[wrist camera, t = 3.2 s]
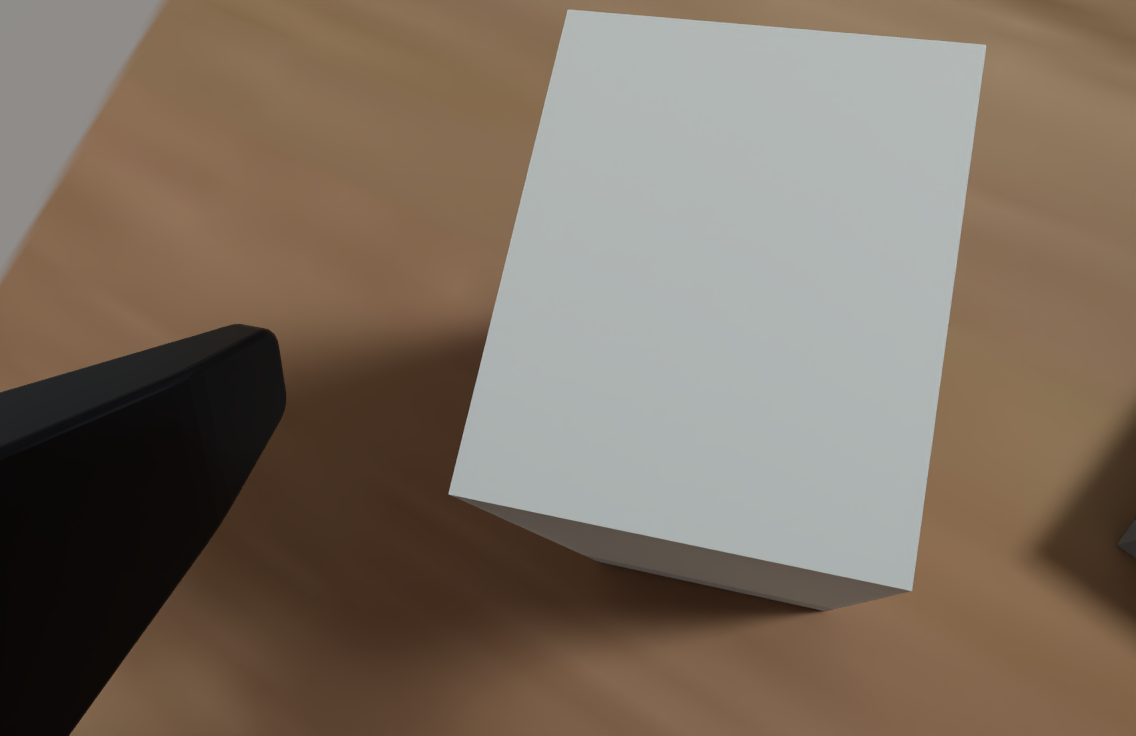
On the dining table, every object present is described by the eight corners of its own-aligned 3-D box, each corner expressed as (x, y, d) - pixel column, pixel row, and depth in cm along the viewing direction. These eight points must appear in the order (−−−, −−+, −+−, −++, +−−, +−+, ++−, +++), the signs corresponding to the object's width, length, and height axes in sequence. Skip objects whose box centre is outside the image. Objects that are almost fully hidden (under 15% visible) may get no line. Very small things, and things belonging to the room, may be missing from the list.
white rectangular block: (825, 611, 18) (911, 590, 9) (598, 561, 19) (448, 494, 10) (868, 333, 19) (985, 45, 10) (652, 301, 20) (567, 9, 11)
